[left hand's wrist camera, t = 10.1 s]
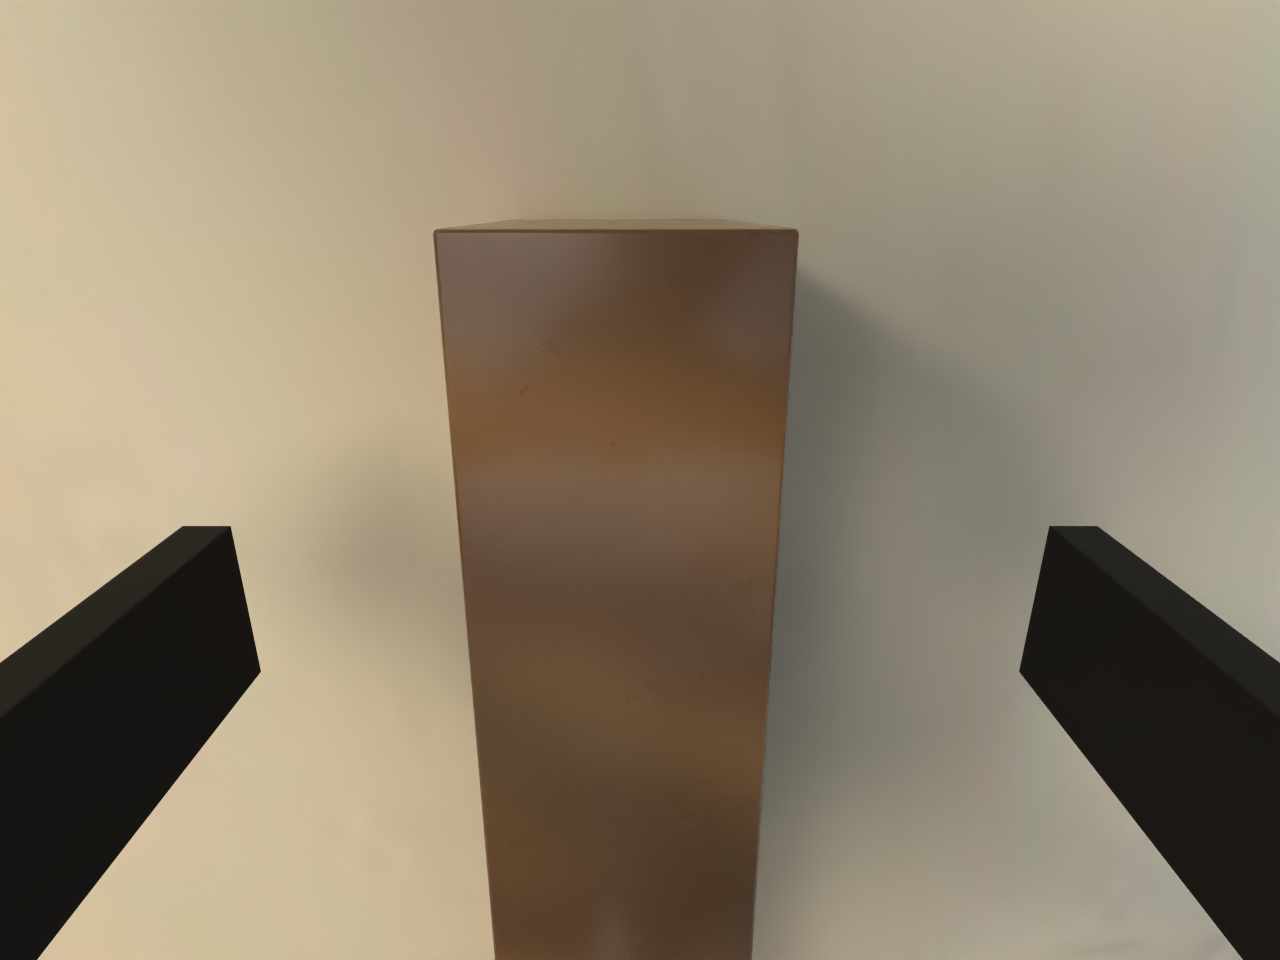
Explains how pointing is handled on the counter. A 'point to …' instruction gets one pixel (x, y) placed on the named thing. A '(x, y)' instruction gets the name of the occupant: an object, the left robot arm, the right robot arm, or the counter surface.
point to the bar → (619, 569)
